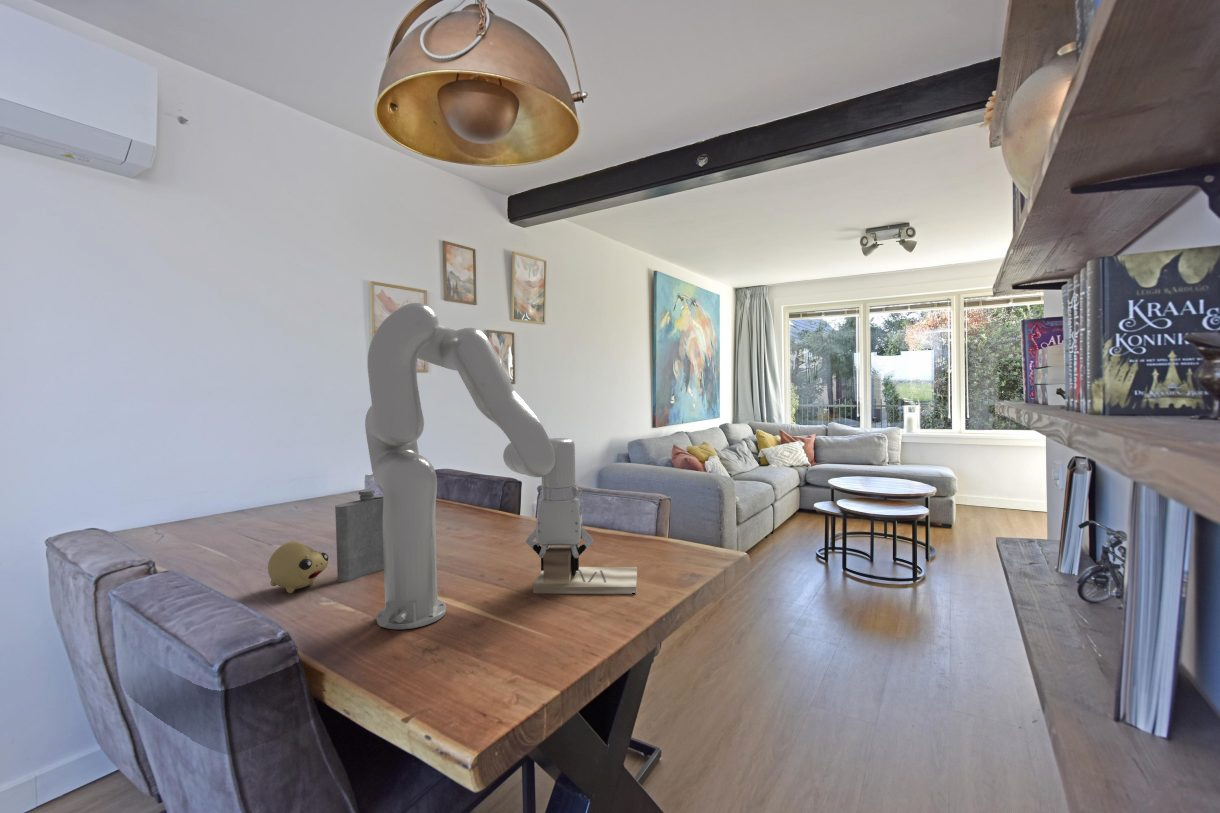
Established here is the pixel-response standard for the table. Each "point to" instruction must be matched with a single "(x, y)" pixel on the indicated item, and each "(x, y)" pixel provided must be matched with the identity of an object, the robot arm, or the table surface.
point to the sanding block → (557, 564)
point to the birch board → (593, 581)
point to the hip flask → (359, 536)
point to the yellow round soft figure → (295, 566)
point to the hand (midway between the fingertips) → (560, 573)
